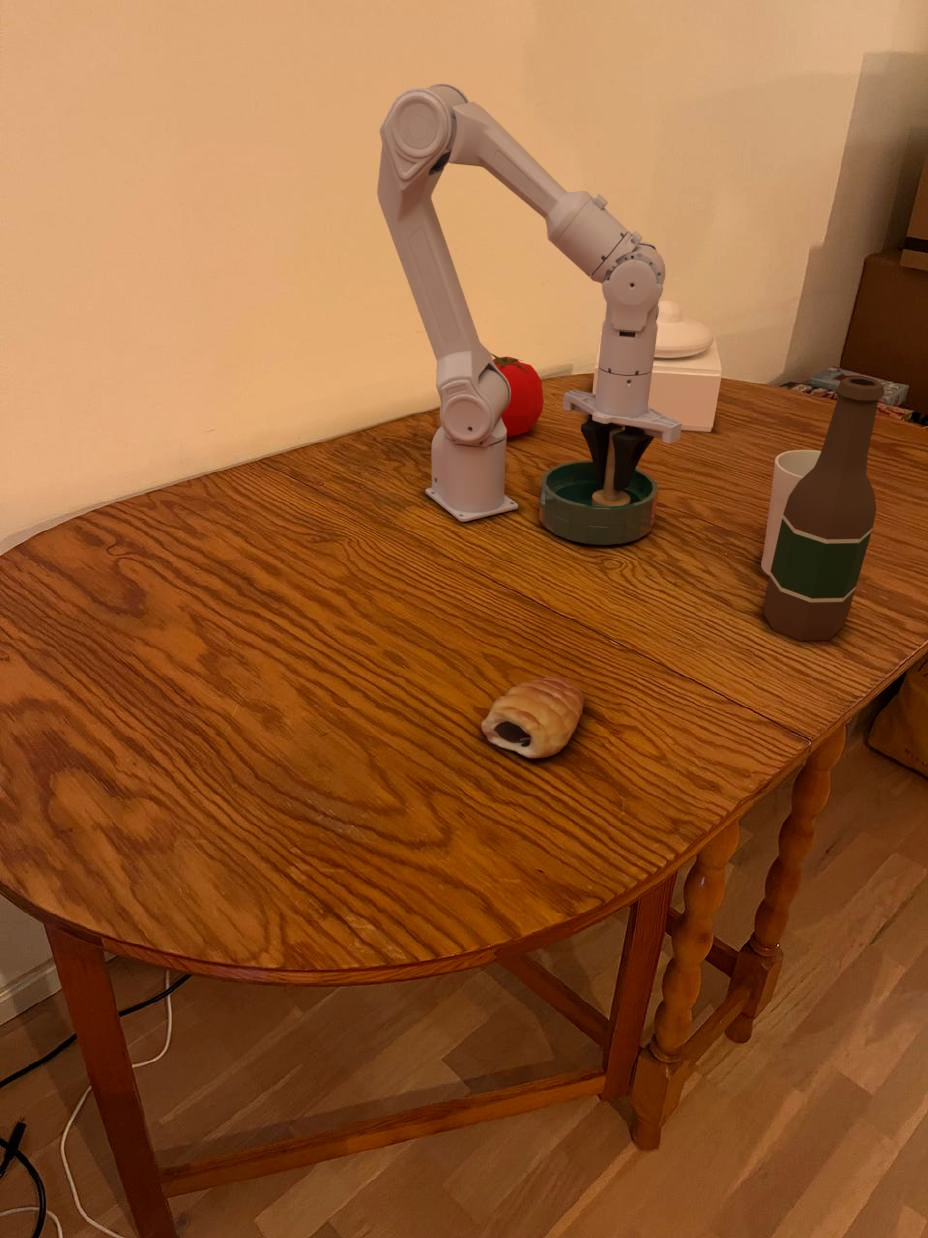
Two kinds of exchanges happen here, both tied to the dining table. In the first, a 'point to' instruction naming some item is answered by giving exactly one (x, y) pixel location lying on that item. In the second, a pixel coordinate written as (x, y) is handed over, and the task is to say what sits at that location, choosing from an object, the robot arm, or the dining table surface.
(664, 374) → the butter dish
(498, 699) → the pastry
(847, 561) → the beer bottle
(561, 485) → the bowl
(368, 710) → the dining table surface
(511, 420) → the tomato
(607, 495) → the peg on round base
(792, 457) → the cup
